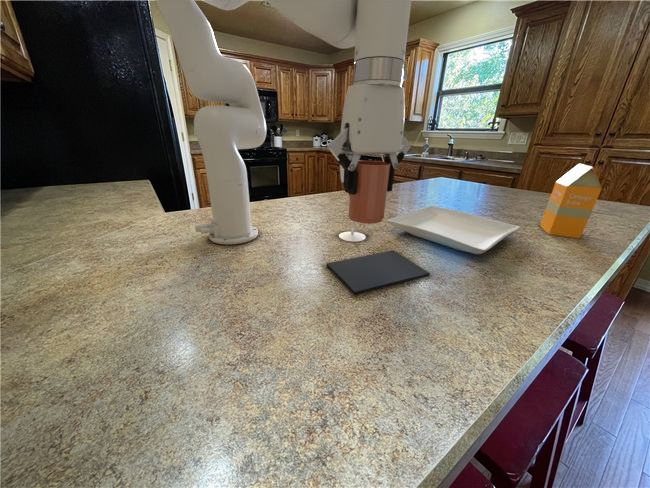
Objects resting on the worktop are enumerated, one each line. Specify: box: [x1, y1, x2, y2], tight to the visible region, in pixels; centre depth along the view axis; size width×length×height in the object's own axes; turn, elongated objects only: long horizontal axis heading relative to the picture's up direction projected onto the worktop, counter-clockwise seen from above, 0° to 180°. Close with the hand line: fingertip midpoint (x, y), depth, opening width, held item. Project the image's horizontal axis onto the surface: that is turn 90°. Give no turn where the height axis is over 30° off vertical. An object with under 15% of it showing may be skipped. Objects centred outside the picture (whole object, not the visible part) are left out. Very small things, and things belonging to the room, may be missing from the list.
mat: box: [326, 250, 431, 295], centre depth 57 cm, size 18×12×1 cm, turn 115°
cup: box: [347, 160, 391, 225], centre depth 48 cm, size 7×7×10 cm
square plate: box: [387, 205, 522, 255], centre depth 77 cm, size 27×27×4 cm
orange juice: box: [539, 162, 603, 239], centre depth 79 cm, size 8×9×20 cm
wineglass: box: [338, 159, 367, 243], centre depth 71 cm, size 8×9×20 cm
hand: (368, 190), depth 48 cm, fingers closed on cup, 6 cm apart
